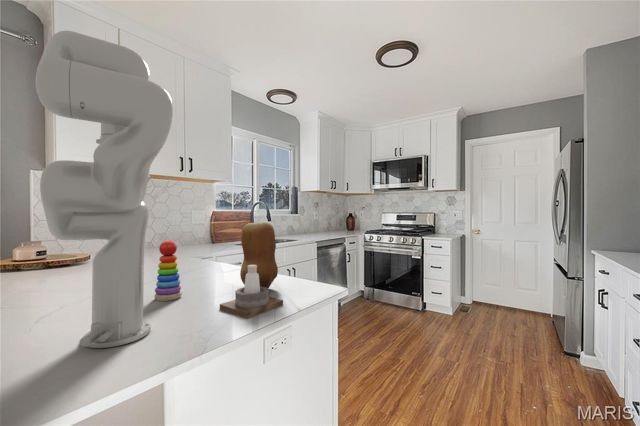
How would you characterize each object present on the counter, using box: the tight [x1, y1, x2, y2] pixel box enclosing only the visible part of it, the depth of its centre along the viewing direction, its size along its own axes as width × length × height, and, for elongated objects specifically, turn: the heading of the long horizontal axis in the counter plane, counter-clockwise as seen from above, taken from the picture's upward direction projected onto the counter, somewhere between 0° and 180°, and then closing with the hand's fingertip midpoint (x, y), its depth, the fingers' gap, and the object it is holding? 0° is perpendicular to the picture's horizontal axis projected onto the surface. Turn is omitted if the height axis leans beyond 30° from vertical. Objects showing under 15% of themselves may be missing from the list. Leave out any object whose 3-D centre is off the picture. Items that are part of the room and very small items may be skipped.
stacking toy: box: [153, 240, 183, 302], centre depth 93 cm, size 8×8×19 cm
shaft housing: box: [219, 286, 284, 319], centre depth 85 cm, size 14×12×5 cm
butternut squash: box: [239, 221, 279, 289], centre depth 103 cm, size 14×13×25 cm
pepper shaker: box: [243, 265, 260, 294], centre depth 85 cm, size 5×5×11 cm
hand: (116, 204), depth 81 cm, fingers open, 9 cm apart
